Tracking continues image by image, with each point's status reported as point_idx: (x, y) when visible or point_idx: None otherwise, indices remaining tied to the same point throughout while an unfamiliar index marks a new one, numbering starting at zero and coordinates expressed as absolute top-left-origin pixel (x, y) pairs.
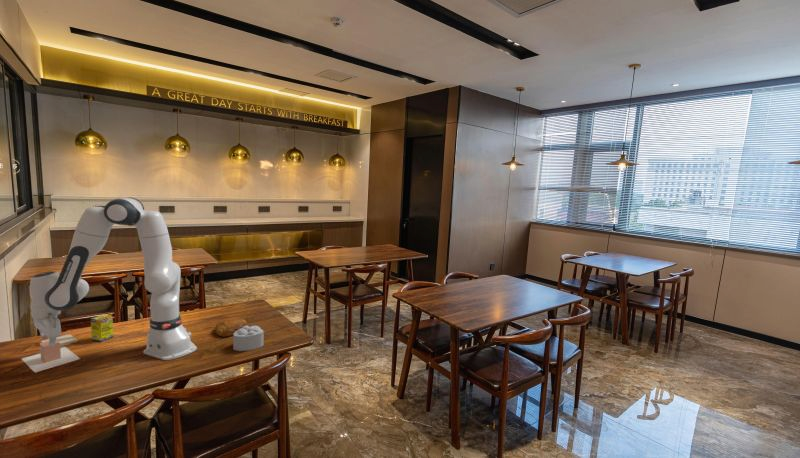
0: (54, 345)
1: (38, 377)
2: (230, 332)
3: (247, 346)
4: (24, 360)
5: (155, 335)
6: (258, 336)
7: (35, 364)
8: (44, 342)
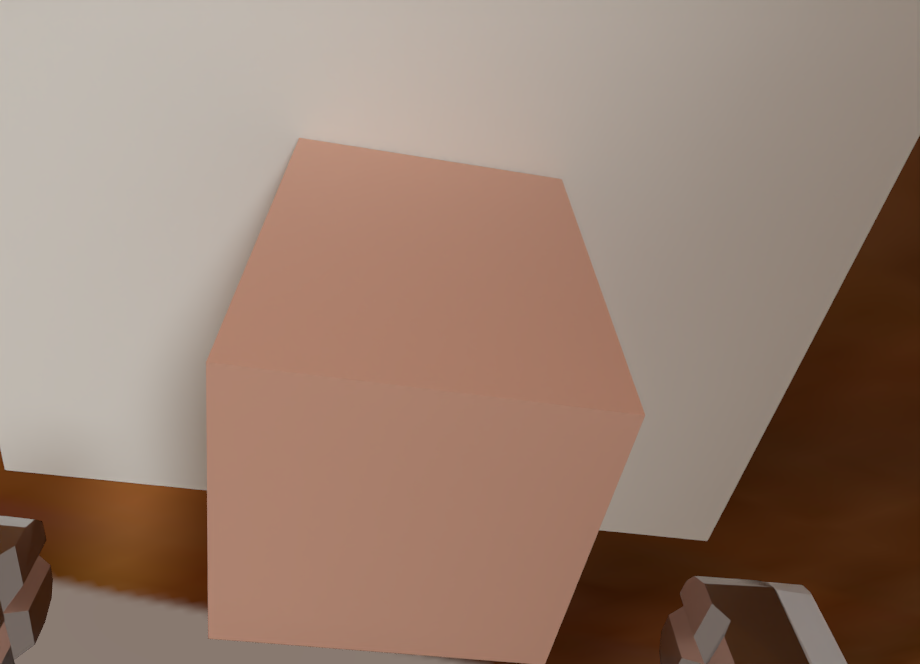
0: (784, 585)
1: (868, 555)
2: None
3: None
4: (125, 471)
5: None
6: None
7: None
8: (238, 578)
